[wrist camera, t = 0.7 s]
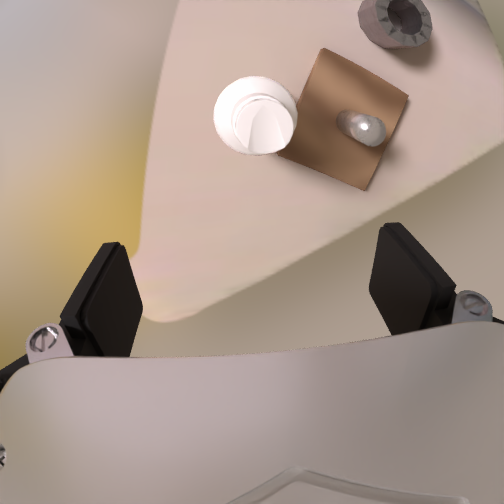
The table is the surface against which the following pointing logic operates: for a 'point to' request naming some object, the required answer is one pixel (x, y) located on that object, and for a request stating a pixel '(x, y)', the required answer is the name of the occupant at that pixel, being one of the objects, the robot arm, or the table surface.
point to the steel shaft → (361, 127)
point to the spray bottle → (255, 116)
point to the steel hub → (382, 30)
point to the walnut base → (326, 110)
